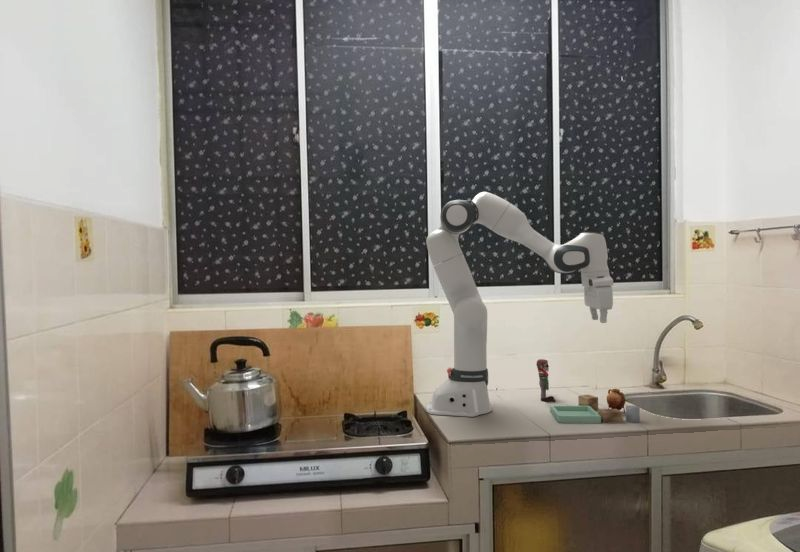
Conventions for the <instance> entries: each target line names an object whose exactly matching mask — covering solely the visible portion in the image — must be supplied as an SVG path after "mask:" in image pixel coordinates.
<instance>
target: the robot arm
mask: <svg viewBox="0 0 800 552" xmlns="http://www.w3.org/2000/svg"><path fill="white" fill-rule="evenodd" d="M439 218H440V219H439V220H440V224H439V227H438V228H437V229H434V230H433V231H432V232H430V233H429V234H428V236H427V237H426V240H425V242H426V247H427V251H428V255H429V258H430V262H431V264H432V266H433V269H434V271H435V274H436V277H437V278H438V281H439V283H440V286H441V289H442V290H443V293H444V295H445V298H446V299H447V302H448V304H449V306H450V309H451V311H452V313H453V360H454V361H453V366H454V367H447V369H446V372H447V376H448V379H446V380H445V381H444V382H443V383H442V384H440V385H439V386H438V387H436V388H435V389H434V391H433V394H432V397H431V398H432V399H431V401H430V402H428V403H427V404H425V411H426V412H427V413H428V414H430V415H436V416H437V415H440V416H442V415H443V416H454V417H471V418H473V417H477V416H479V415H484V414H488V413H490V412H492V410H493V409H492V406H491V401H490V396H489V389H488V386H489V369H488V368H487V367H488V366H487V364H488V363H487V343H488V341H487V340H488V309H487V305H486V304H485V303H484V302H483V299H482V297H481V295H480V292H479V290H478V287H477V285H476V282H475V279H474V277H473V274H472V271H471V269H470V267H469V265H468V263H467V261H466V257H465V256H464V253H463V251H462V249H461V246H460V242H459V237H460V236H461V235H462V234H463V233H465V232H467V231H468V229H469V228H471V226H472V225H473V224H478V225H479V224H480V225H482V226H484V227H486V228H487V229H489V230H490V231H492V232H493V233H494V234H497V235H499V236H501V237H503V238H505V239H506V240H507V239H508V240H510V241H513V242H516V243H518V244H521V245H523V246H524V247H526V248H528V249H530V251H532V252H533V253H535V254H537V255H538V256H539V257H541V258H542V259H543V260H544V261H545V263H546V265H547V266H548V268H549V269H550V270H551V271H553V272H554V273H557V274H569V273H573V272H575V271H578V270H580V274H581V275H580V277H581V286H582V287H583V299H584V301H583V302H584V305H585V306H586V307H589V311H590V315H591V320H592V321H599V322H600V323H601V324H607V322H608V319H607V317H608V312H609V310H612V309H613V304H614V300H613V299H614V296H613V295H614V293H613V287H612V286H614V279H613V278H612V276H611V275H610V268H609V267H608V259H609V256H608V248H607V243H606V242H607V241H606V238H605V236H604V235H603V234H602V233H600V232H595V231H594V232H593V231H584V232H580V233H579V234H578V235H577V236H576V237H574V238H573V239H572V240H571V239H570V240H569V241H567V242H565V243H564V244H559V243H555V242H553V241H551V240H550V239H548V238H547V237H545V236H543V235H542V234H541V233H539V232H538V231H536V230H535V229H534V228H533V227H532V226H531V225H530V223H529V221H528V218H527V215H526V214H525V213H524V212H523V211H522V210H520V208H518V207H517V206H515V205H514V204H513V203H511V202H509V201H508V200H507V199H504V198H502V197H500V196H498V195H496V194H493V193H491V192H488V191H482V192H481V191H480V192H479V193H478V194H476V195H475V196H473V198H472V200H469V199H468V200H467V199H465V200H464V199H454V200H450V201H448V202H446V204H445V205H444V206H443V207H442V209H441V211H440V216H439ZM597 310H598V311H599V314H598V311H597Z"/></svg>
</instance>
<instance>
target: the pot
mask: <svg viewBox="0 0 800 552" xmlns="http://www.w3.org/2000/svg"><path fill="white" fill-rule="evenodd" d="M626 401H627V399H626V397H625V393H624V392H622V391H621V390H620V389H619V388H612V389H611V388H609V389H608V390H607V395H606V404H607V405H608V409H617V410H619V411H622V409H623V411H624V413H626V408H625V405H626Z"/></svg>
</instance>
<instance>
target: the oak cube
mask: <svg viewBox="0 0 800 552" xmlns="http://www.w3.org/2000/svg"><path fill="white" fill-rule="evenodd" d="M577 400H578V401H577V403H578V405H577V406H590V407H591V408H592V409H594V410H595V411H596V412H598V409H599V397H598V396H595V395H592V394H581V395H578V399H577Z"/></svg>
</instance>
